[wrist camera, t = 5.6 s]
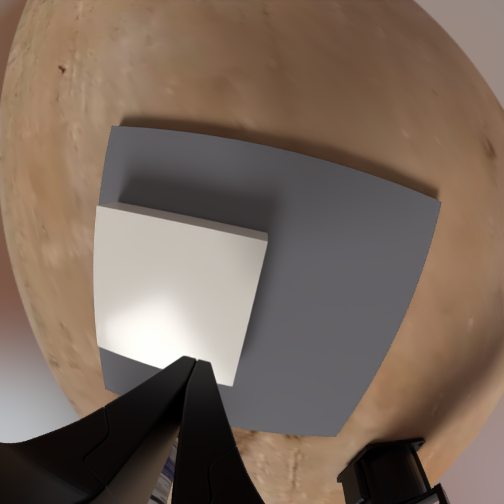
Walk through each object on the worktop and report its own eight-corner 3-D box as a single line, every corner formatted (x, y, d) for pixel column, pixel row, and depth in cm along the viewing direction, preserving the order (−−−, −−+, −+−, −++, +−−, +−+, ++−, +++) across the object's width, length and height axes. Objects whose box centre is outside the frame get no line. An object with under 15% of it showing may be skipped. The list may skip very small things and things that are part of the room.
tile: (267, 241, 10) (96, 205, 10) (232, 386, 12) (97, 346, 11) (267, 232, 11) (117, 201, 11) (235, 364, 13) (112, 329, 13)
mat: (435, 200, 11) (441, 202, 11) (334, 430, 15) (335, 436, 15) (117, 127, 11) (111, 125, 10) (108, 383, 15) (105, 388, 15)
